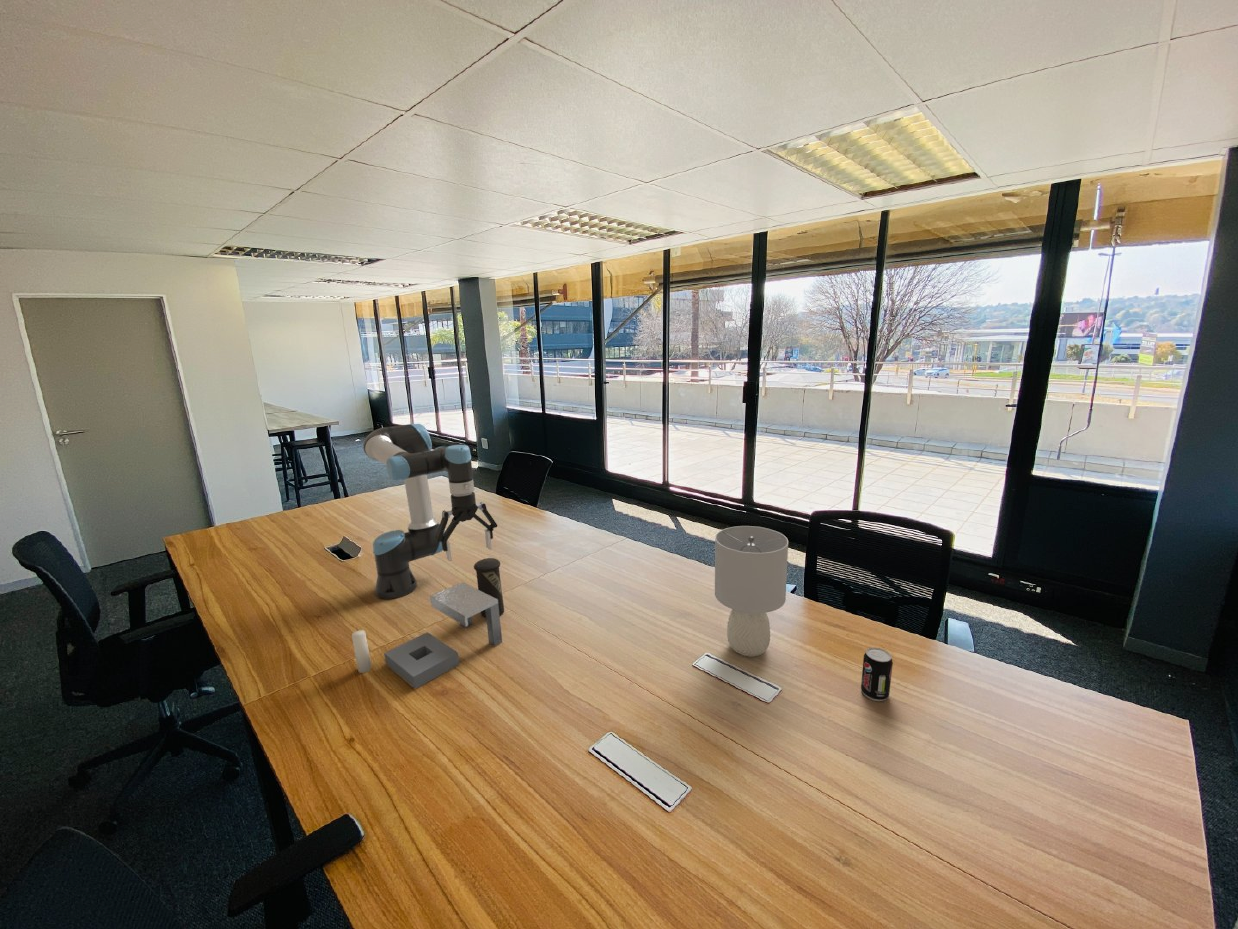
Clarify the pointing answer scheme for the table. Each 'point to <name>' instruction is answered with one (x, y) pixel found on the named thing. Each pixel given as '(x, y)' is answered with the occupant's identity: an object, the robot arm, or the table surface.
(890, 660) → the beverage can
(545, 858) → the table surface
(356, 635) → the peg
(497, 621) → the grey legged flat piece
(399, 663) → the socket block
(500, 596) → the container
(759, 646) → the lamp
